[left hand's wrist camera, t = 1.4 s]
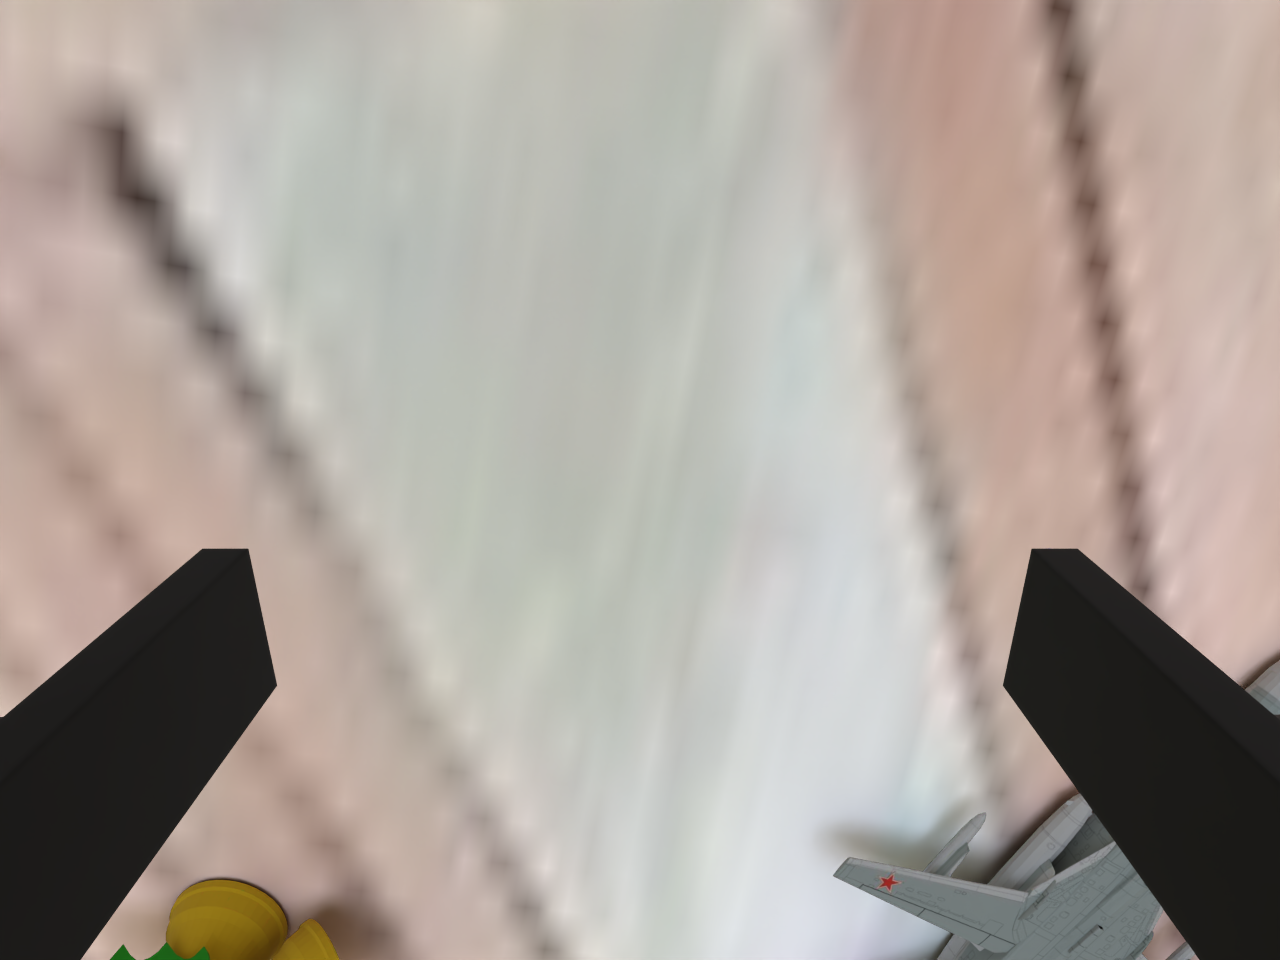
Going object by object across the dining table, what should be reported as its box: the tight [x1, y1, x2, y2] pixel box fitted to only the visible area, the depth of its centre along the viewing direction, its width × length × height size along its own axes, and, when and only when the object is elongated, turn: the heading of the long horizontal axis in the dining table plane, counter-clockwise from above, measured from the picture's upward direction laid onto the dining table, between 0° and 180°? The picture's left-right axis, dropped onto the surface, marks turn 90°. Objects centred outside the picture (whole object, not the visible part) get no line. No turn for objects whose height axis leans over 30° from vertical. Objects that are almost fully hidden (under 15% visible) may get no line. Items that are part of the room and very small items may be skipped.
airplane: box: [833, 660, 1280, 960], centre depth 46 cm, size 38×32×10 cm
